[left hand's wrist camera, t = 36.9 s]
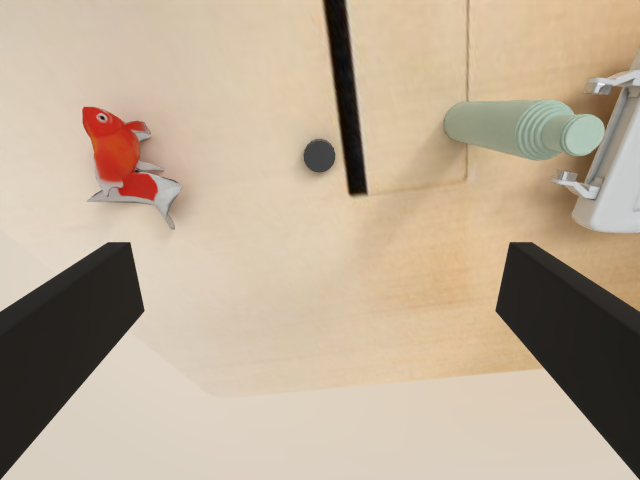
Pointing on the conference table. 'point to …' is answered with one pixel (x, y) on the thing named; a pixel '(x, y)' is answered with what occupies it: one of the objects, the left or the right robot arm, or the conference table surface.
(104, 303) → the left robot arm
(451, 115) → the bottle
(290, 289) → the conference table surface
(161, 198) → the fish
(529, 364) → the conference table surface
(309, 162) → the cap
